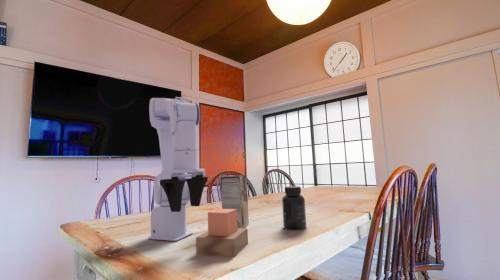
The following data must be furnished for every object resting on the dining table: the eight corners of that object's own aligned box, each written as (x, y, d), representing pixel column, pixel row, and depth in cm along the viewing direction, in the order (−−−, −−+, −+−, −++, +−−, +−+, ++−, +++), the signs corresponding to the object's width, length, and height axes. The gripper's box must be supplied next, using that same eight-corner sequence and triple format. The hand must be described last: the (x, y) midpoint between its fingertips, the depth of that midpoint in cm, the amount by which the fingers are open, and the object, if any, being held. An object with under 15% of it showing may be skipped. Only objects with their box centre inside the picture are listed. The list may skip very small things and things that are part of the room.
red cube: (208, 234, 56) (207, 212, 57) (219, 229, 61) (218, 208, 62) (227, 236, 54) (226, 212, 55) (237, 230, 59) (236, 209, 60)
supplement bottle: (278, 228, 74) (276, 187, 76) (292, 223, 79) (290, 185, 80) (297, 231, 70) (294, 188, 71) (311, 226, 74) (308, 186, 75)
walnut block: (196, 256, 54) (196, 237, 55) (214, 243, 63) (214, 227, 63) (234, 258, 52) (234, 239, 52) (248, 245, 60) (247, 228, 61)
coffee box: (230, 223, 83) (228, 175, 85) (249, 223, 82) (247, 174, 84) (222, 230, 74) (220, 176, 76) (242, 230, 73) (240, 175, 75)
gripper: (179, 148, 52) (180, 214, 50) (214, 151, 65) (216, 204, 64) (153, 150, 55) (153, 214, 53) (192, 153, 68) (193, 203, 66)
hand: (186, 208), depth 59 cm, fingers open, 7 cm apart
